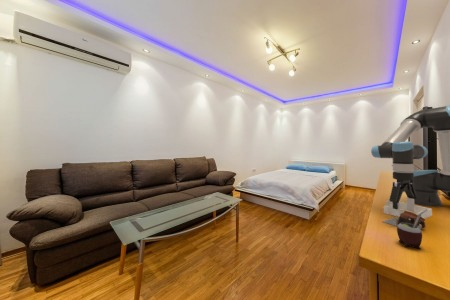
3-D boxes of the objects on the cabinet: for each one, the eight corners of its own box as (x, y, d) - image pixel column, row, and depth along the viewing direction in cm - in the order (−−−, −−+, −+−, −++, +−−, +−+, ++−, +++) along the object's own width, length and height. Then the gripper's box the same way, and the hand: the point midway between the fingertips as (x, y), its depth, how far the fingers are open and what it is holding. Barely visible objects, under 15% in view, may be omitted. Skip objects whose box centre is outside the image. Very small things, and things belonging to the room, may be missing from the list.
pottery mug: (390, 221, 91) (398, 208, 91) (413, 233, 87) (421, 219, 87) (403, 225, 80) (412, 210, 80) (429, 239, 76) (438, 223, 76)
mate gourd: (393, 242, 72) (393, 206, 72) (402, 238, 75) (402, 204, 75) (419, 252, 65) (418, 212, 65) (428, 247, 68) (428, 209, 68)
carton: (399, 208, 111) (399, 197, 111) (432, 216, 98) (432, 203, 98) (383, 212, 104) (383, 200, 104) (416, 221, 91) (415, 207, 91)
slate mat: (394, 218, 96) (394, 217, 96) (425, 227, 85) (425, 226, 85) (382, 221, 92) (382, 221, 92) (413, 231, 81) (413, 231, 81)
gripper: (405, 169, 96) (406, 206, 97) (379, 172, 87) (380, 214, 87) (425, 170, 89) (426, 211, 90) (399, 174, 80) (400, 220, 80)
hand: (403, 212), depth 89 cm, fingers open, 13 cm apart
